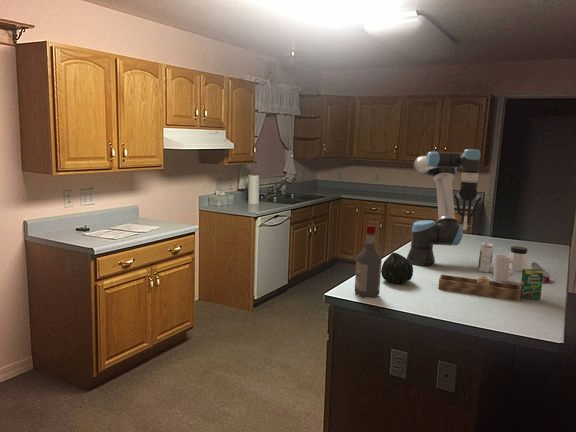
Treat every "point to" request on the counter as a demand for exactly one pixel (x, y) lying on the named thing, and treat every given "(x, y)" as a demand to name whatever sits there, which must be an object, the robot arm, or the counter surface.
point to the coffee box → (531, 284)
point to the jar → (518, 257)
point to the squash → (397, 269)
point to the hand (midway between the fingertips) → (464, 229)
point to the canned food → (545, 274)
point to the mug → (502, 267)
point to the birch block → (483, 280)
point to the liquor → (368, 267)
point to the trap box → (480, 287)
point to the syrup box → (485, 257)
